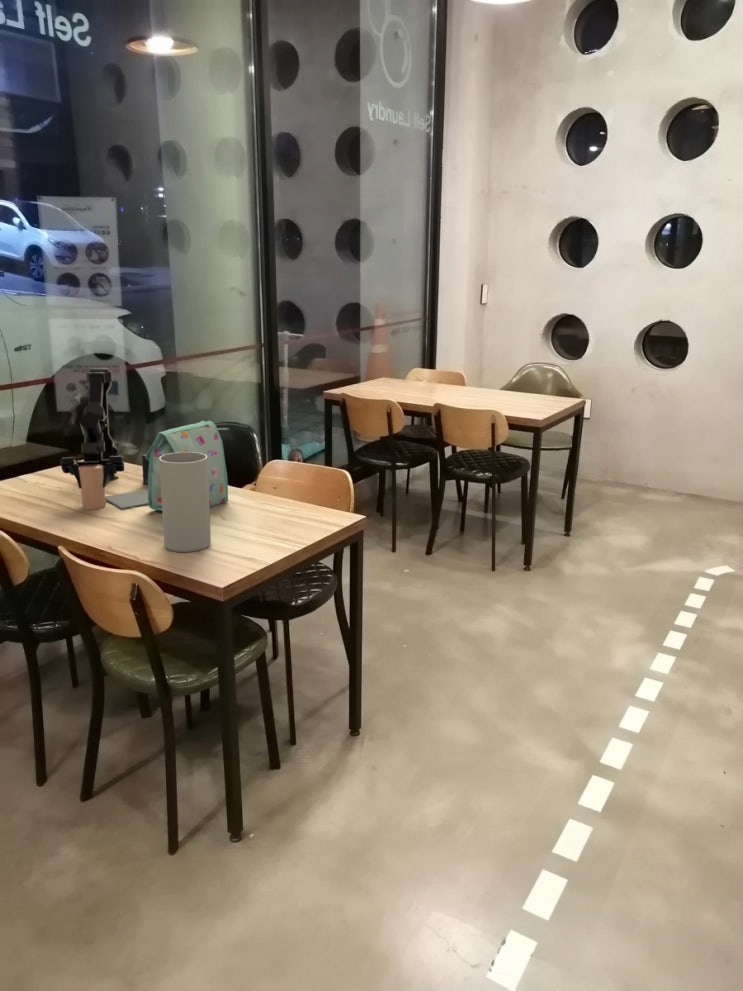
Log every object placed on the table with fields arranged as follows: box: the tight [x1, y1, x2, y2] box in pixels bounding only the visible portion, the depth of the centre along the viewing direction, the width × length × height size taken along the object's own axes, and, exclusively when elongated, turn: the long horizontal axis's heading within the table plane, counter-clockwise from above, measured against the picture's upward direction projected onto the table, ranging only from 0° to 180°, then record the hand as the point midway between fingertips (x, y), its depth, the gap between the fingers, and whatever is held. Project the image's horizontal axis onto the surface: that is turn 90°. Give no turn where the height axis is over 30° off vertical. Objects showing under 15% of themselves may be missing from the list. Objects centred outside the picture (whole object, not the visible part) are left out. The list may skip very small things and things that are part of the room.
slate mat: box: [105, 488, 149, 511], centre depth 252 cm, size 15×15×1 cm
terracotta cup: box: [79, 464, 107, 510], centre depth 243 cm, size 7×7×13 cm
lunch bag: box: [146, 420, 229, 511], centre depth 243 cm, size 23×16×27 cm
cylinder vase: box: [159, 452, 212, 553], centre depth 209 cm, size 12×12×25 cm
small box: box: [141, 452, 149, 485], centre depth 273 cm, size 11×6×10 cm, turn 171°
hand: (92, 487), depth 242 cm, fingers closed on terracotta cup, 7 cm apart
